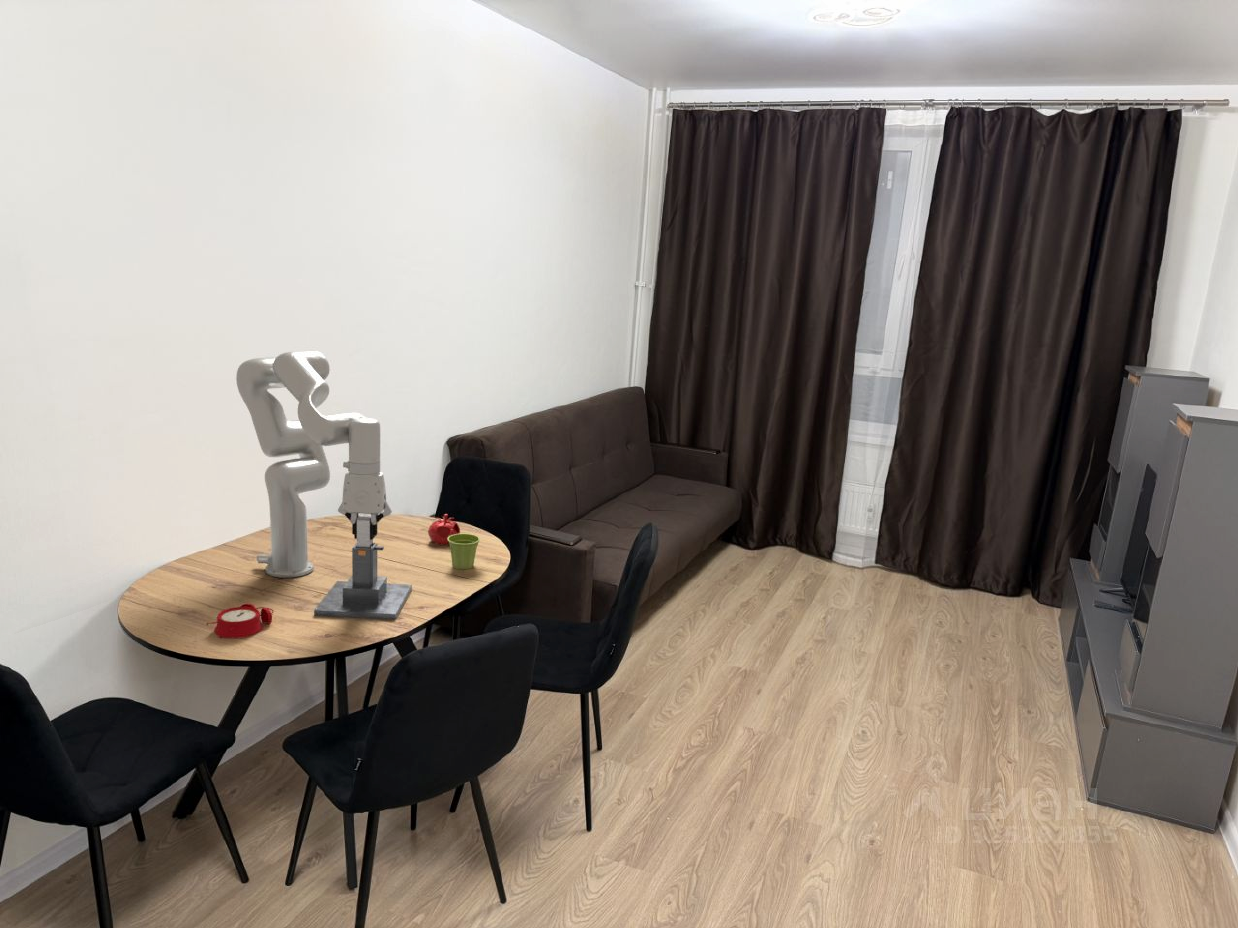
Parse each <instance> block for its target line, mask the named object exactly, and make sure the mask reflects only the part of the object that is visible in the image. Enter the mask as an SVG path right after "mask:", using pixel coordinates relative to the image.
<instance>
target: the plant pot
mask: <svg viewBox="0 0 1238 928" xmlns="http://www.w3.org/2000/svg"><path fill="white" fill-rule="evenodd" d="M448 541H449V545H448V546H449V547H450V556H451V565H452V567H453V568H454V569H455V570H460V569H461V570H464V569H465V570H470V569H472V568H474V564H475V560H476V559H475V558H476V553H477V547H478V545H479V543H480V541H481V538H480V537H479V536H478V535H476V534H472V533H460V534H454V535H451V536H449V537H448ZM469 568H470V569H469Z"/></svg>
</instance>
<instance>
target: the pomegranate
mask: <svg viewBox="0 0 1238 928" xmlns="http://www.w3.org/2000/svg"><path fill="white" fill-rule="evenodd" d="M441 517H442V518H443V519H440V518H439V517H436V518H435V521H433V522H432V523H431V525H429V528H428V530H427V533H428V536H429V539H430V541H431V542H432V543H434V544H436V545H438V546H439V545H440V546H450V545H449V541H448V537H449V536H451V535H454V534H461V529H460V526H459V524H458V522H457V521H453V520H454V519H455V518H454V517H449V518H448V514H447V513H445V514H443V516H441ZM437 519H438V520H437Z"/></svg>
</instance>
